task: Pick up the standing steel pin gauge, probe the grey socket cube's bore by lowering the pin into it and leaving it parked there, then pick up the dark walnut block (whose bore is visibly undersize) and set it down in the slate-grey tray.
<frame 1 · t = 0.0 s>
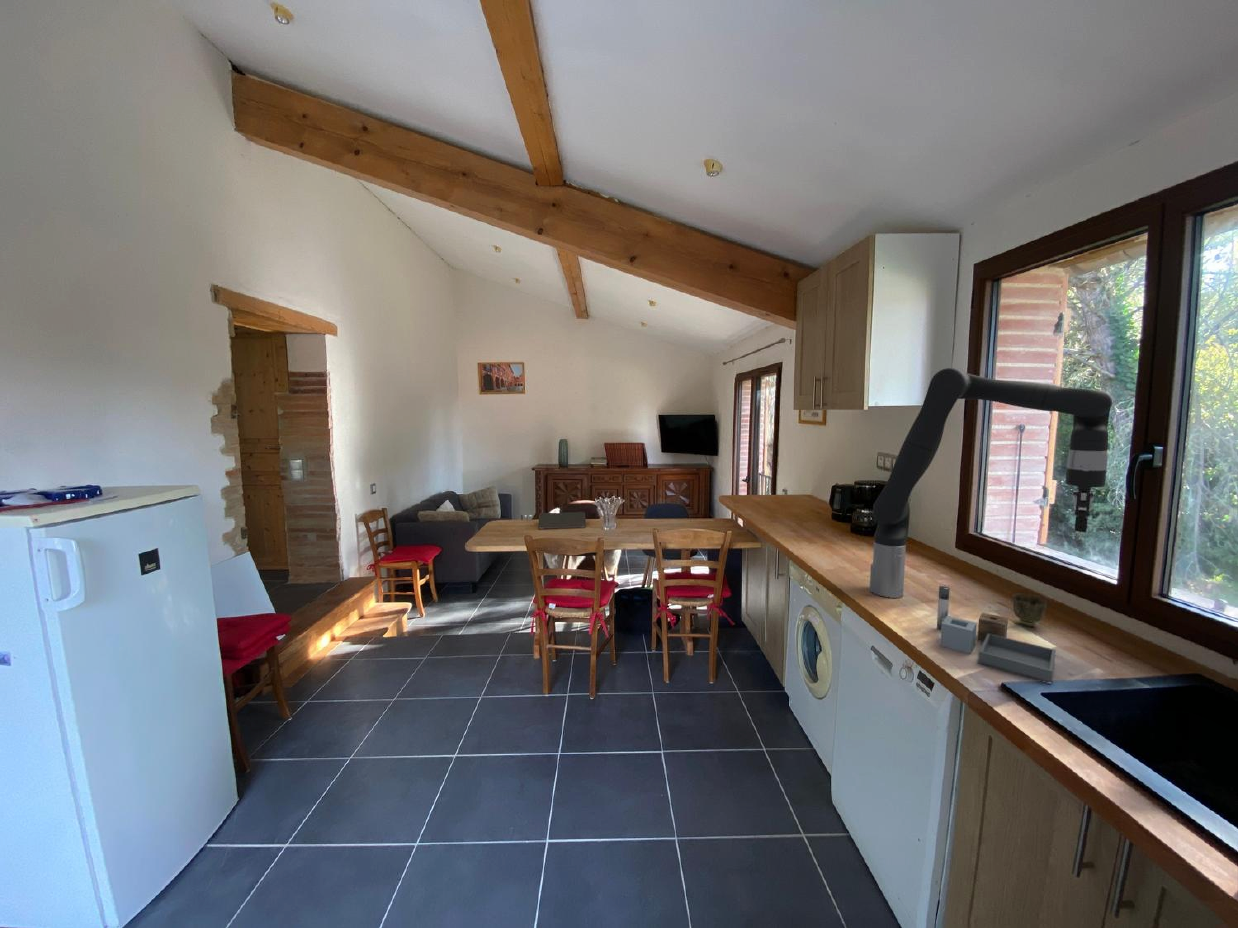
hand: (1080, 528, 128), 29 cm above the worktop, fingers open, 8 cm apart
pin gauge: (941, 629, 136), on the worktop
grey socket cube: (957, 645, 126), on the worktop
tray: (1016, 662, 117), on the worktop
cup: (1027, 625, 137), on the worktop
walnut block: (991, 640, 129), on the worktop
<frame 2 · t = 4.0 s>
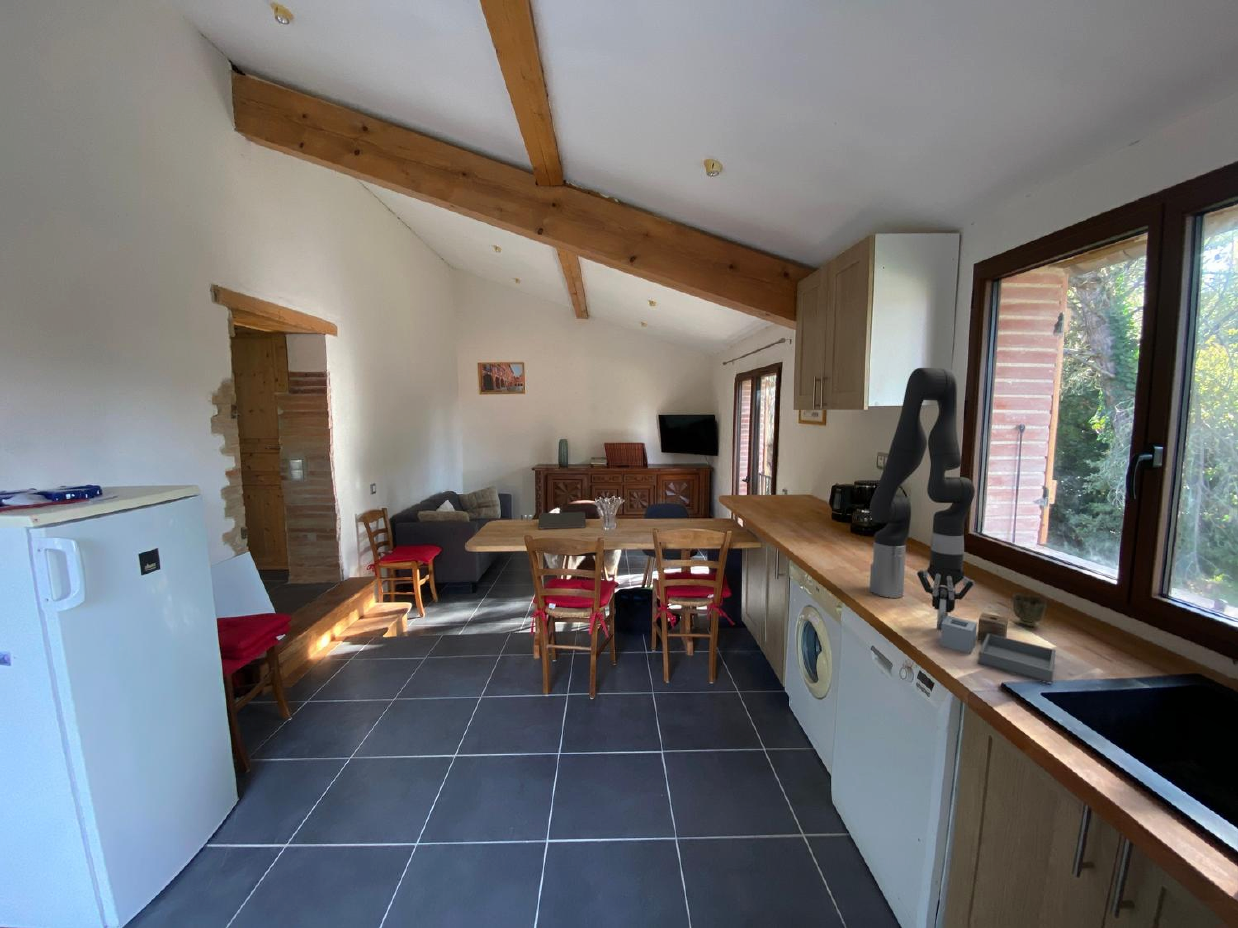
hand: (943, 609, 135), 6 cm above the worktop, fingers closed on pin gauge, 2 cm apart
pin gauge: (941, 629, 136), on the worktop, touching gripper
everything else where it was.
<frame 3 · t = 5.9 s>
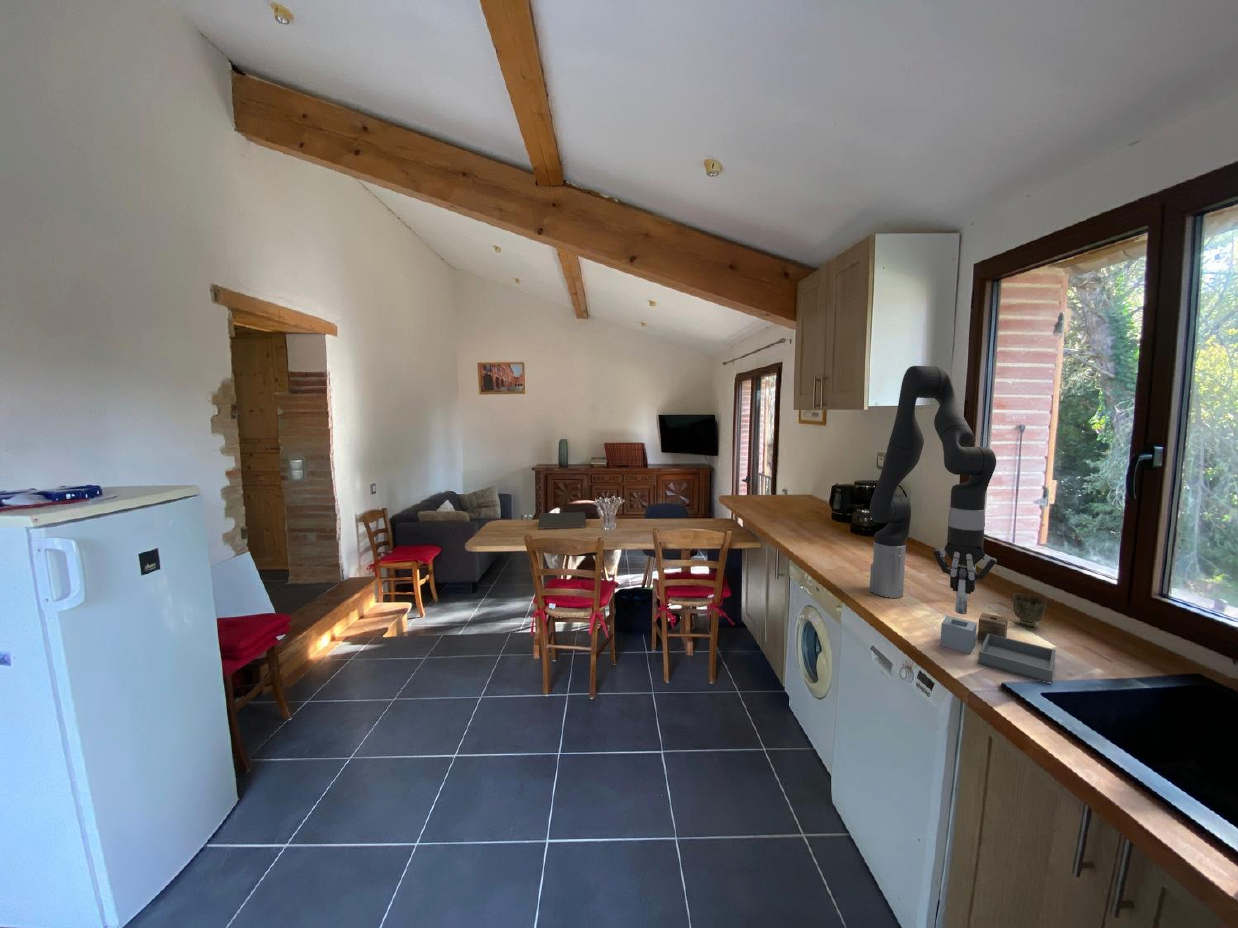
hand: (962, 591, 125), 14 cm above the worktop, fingers closed on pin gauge, 2 cm apart
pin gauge: (960, 612, 125), point 9 cm above the worktop, touching gripper
everything else where it was.
when the fingers open (7 cm above the worktop, at t = 7.7 s): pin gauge drops 2 cm, resting in grey socket cube.
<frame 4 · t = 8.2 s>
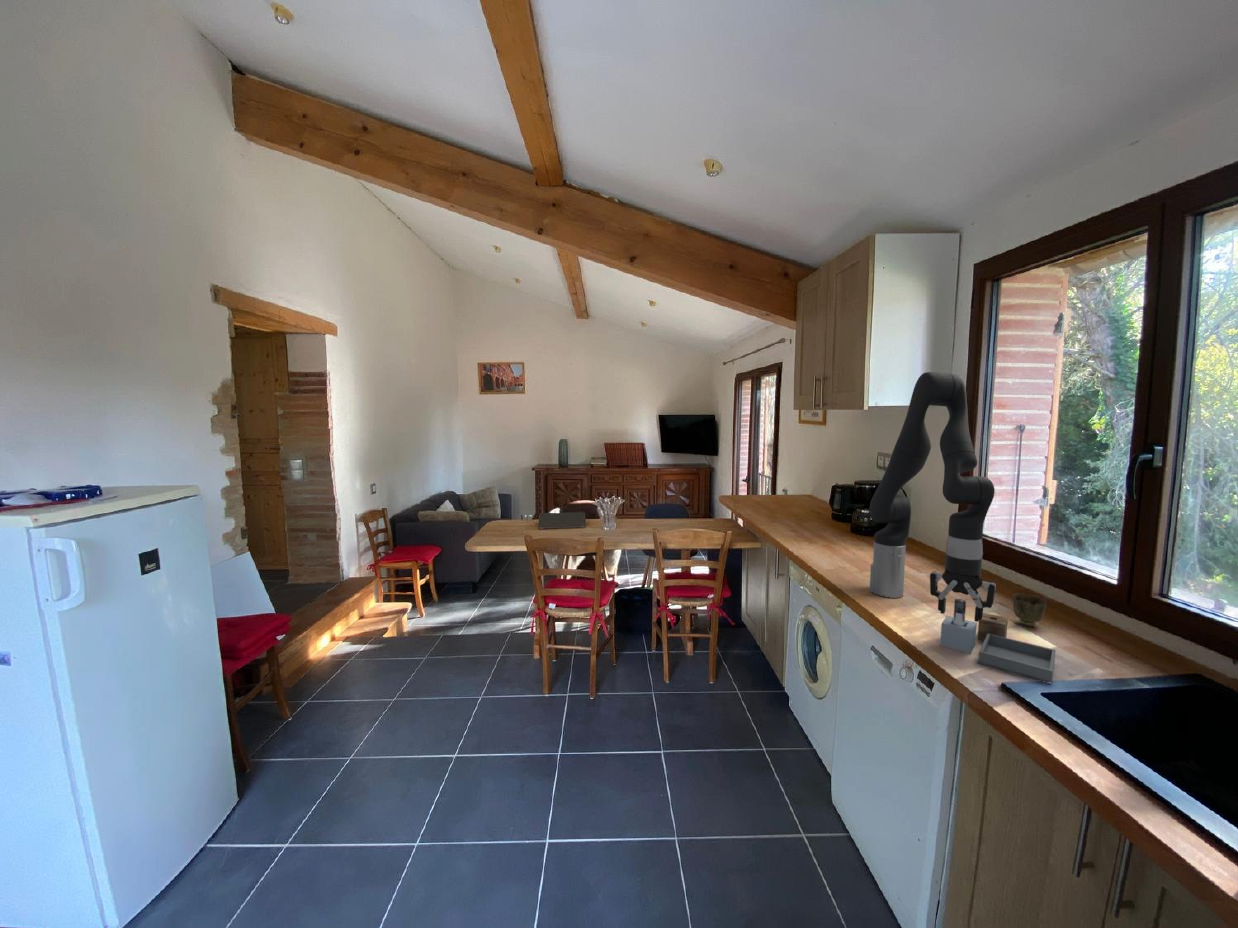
hand: (959, 616, 126), 8 cm above the worktop, fingers open, 6 cm apart
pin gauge: (957, 644, 126), resting in grey socket cube
everything else where it was.
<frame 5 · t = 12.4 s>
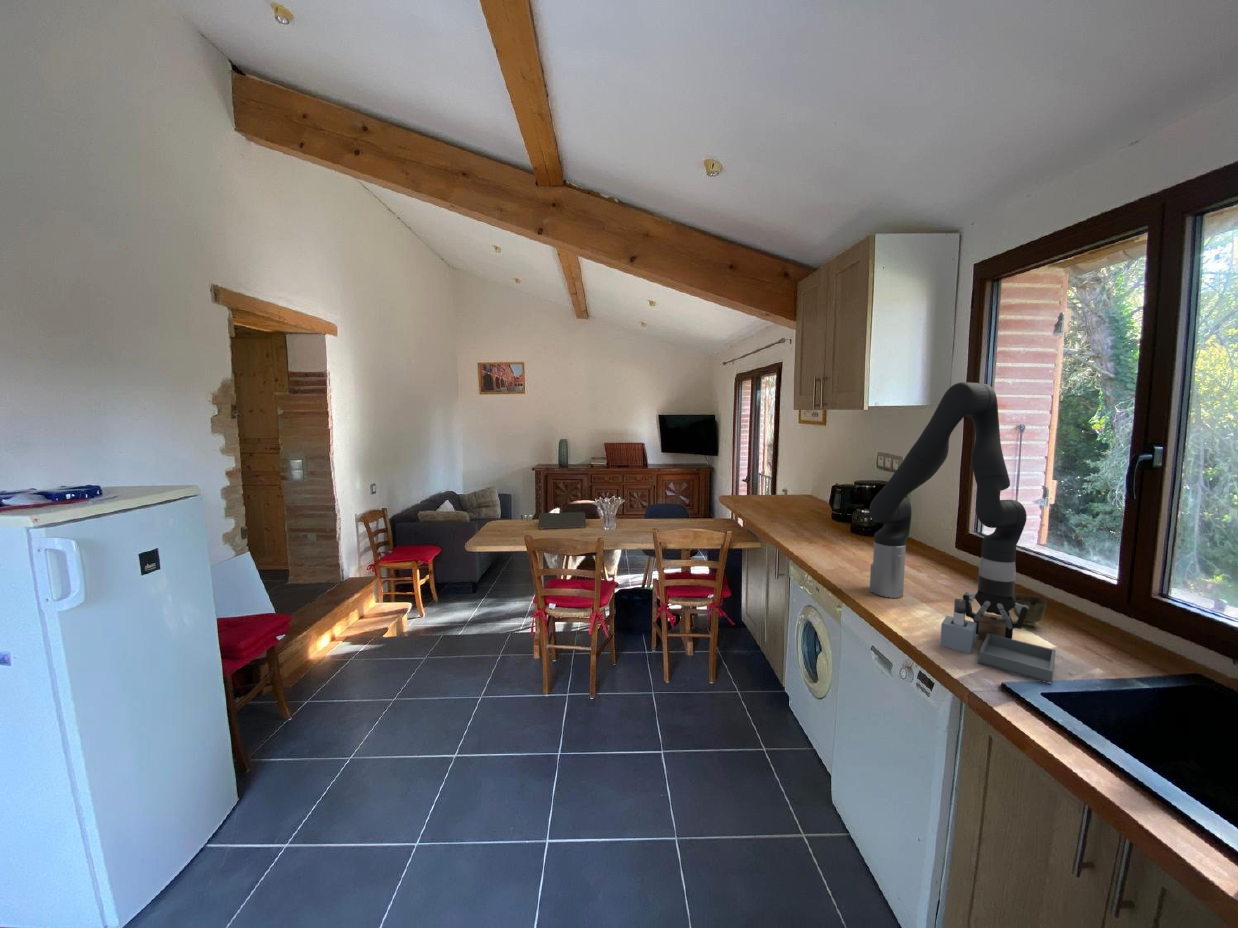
hand: (992, 636, 129), 1 cm above the worktop, fingers closed on walnut block, 5 cm apart
walnut block: (991, 639, 129), on the worktop, touching gripper
everything else where it was.
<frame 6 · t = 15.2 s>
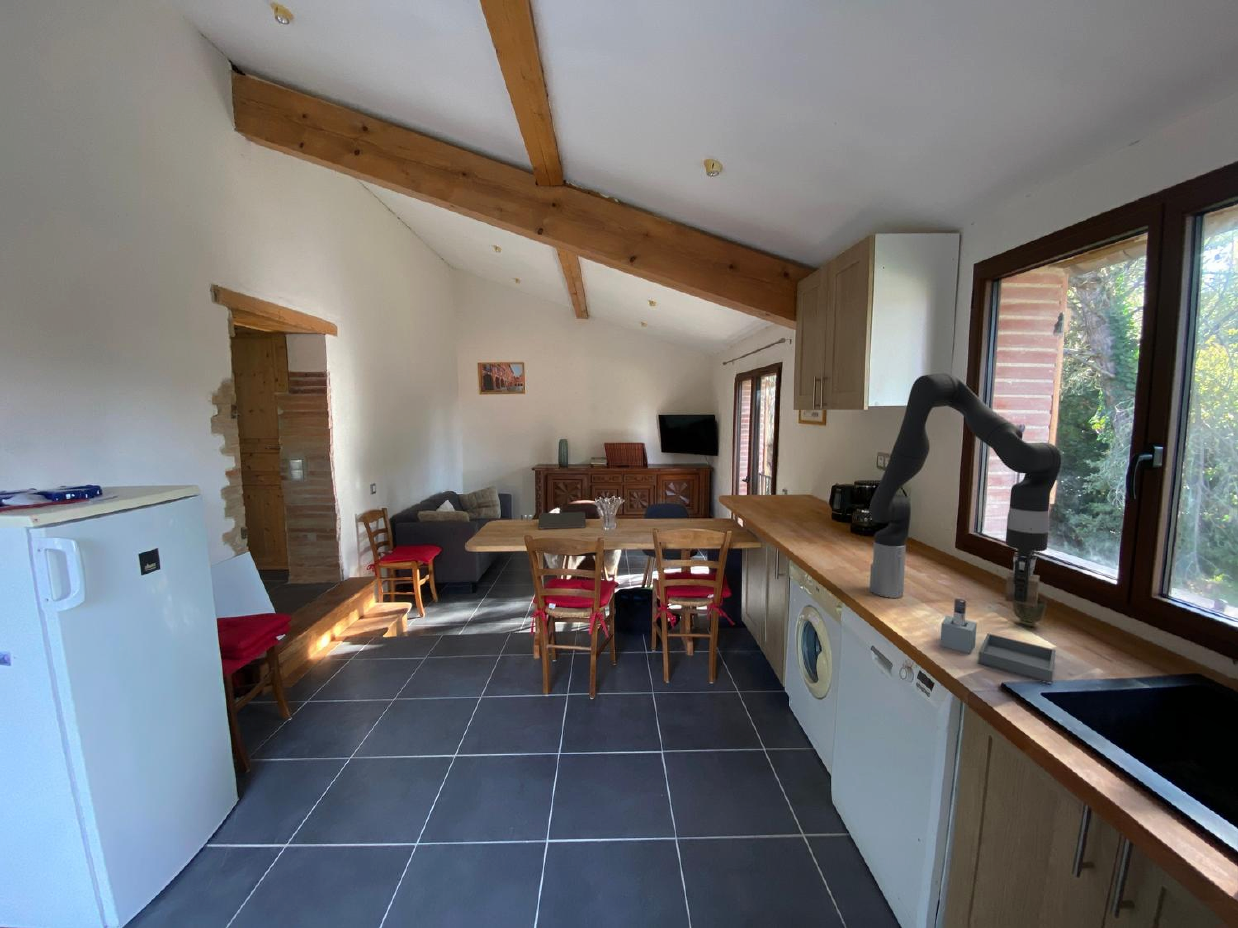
hand: (1021, 597, 116), 16 cm above the worktop, fingers closed on walnut block, 5 cm apart
walnut block: (1021, 600, 116), point 16 cm above the worktop, touching gripper
everything else where it was.
when the fingers open (3 cm above the worktop, at t = 18.1 s): walnut block drops 1 cm, resting on tray.
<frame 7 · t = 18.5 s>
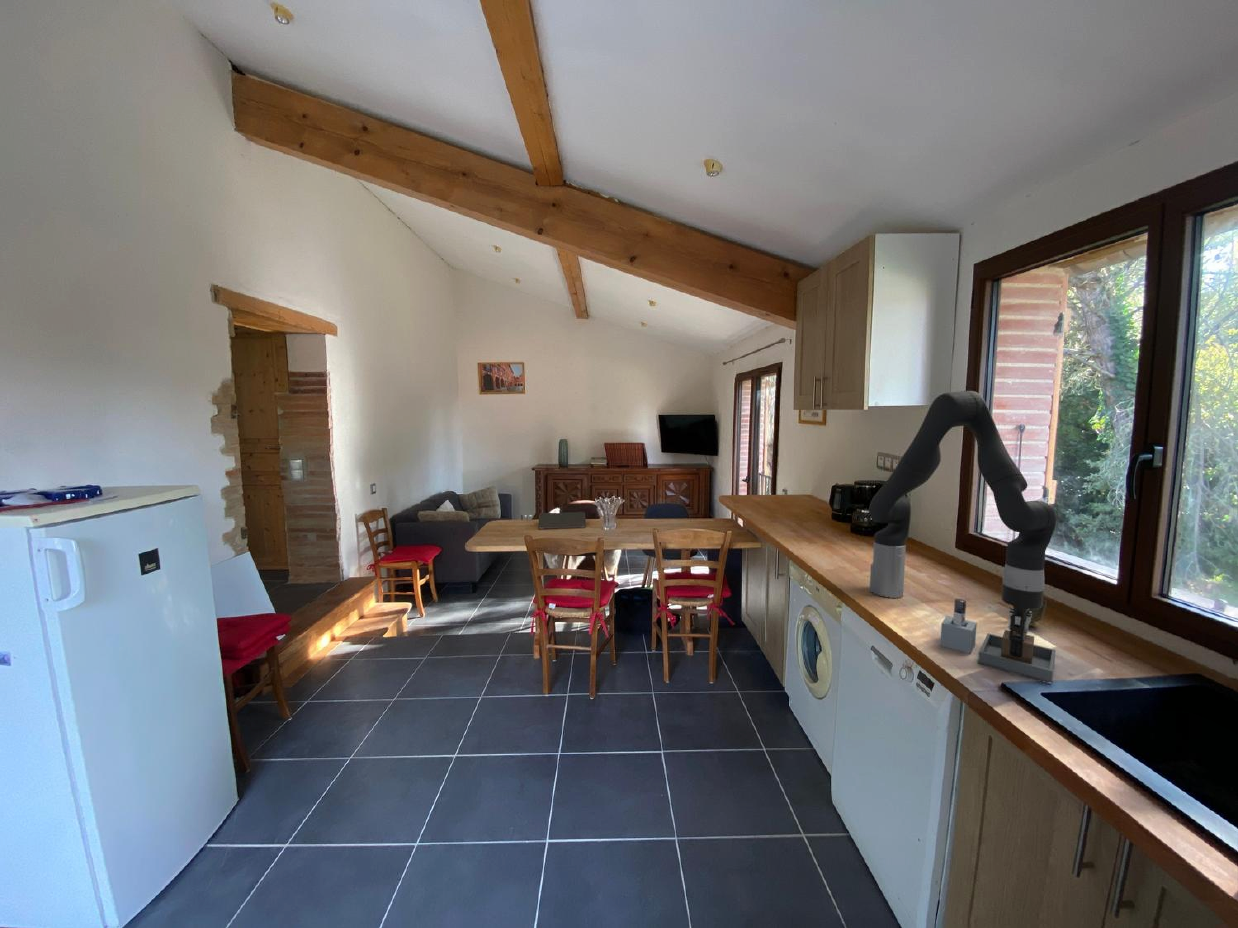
hand: (1017, 649, 117), 3 cm above the worktop, fingers open, 8 cm apart
walnut block: (1016, 660, 117), resting on tray
everything else where it was.
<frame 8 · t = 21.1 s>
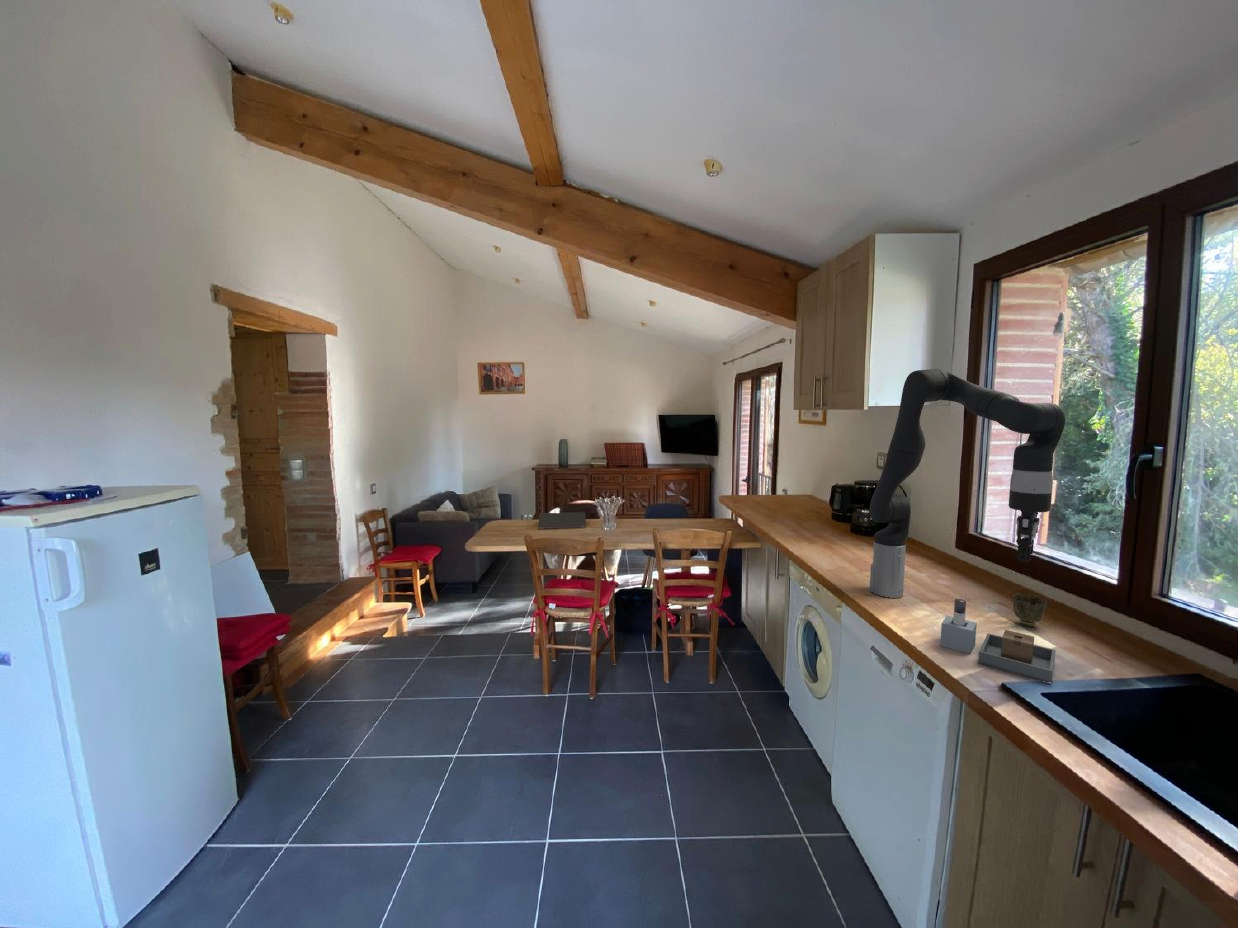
hand: (1025, 557, 115), 26 cm above the worktop, fingers open, 8 cm apart
nothing on the worktop moved.
at the end: walnut block inside the target area on the tray (0.1 cm from its centre), point 0.5 cm above the tray's base; walnut block tilted 0°; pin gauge 0.1 cm off-centre on the grey socket cube, point 0.0 cm above the grey socket cube's base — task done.
